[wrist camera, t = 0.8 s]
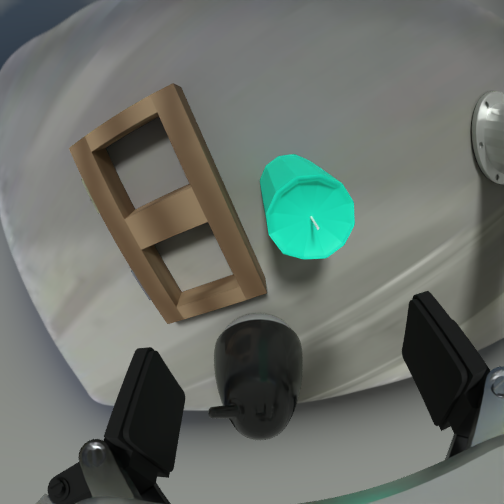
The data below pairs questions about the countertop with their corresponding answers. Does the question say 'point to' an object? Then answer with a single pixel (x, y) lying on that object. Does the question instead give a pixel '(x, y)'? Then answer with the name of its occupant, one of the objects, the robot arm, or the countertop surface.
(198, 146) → the socket block
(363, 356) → the countertop surface
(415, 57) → the countertop surface
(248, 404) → the pump dispenser
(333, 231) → the candle
